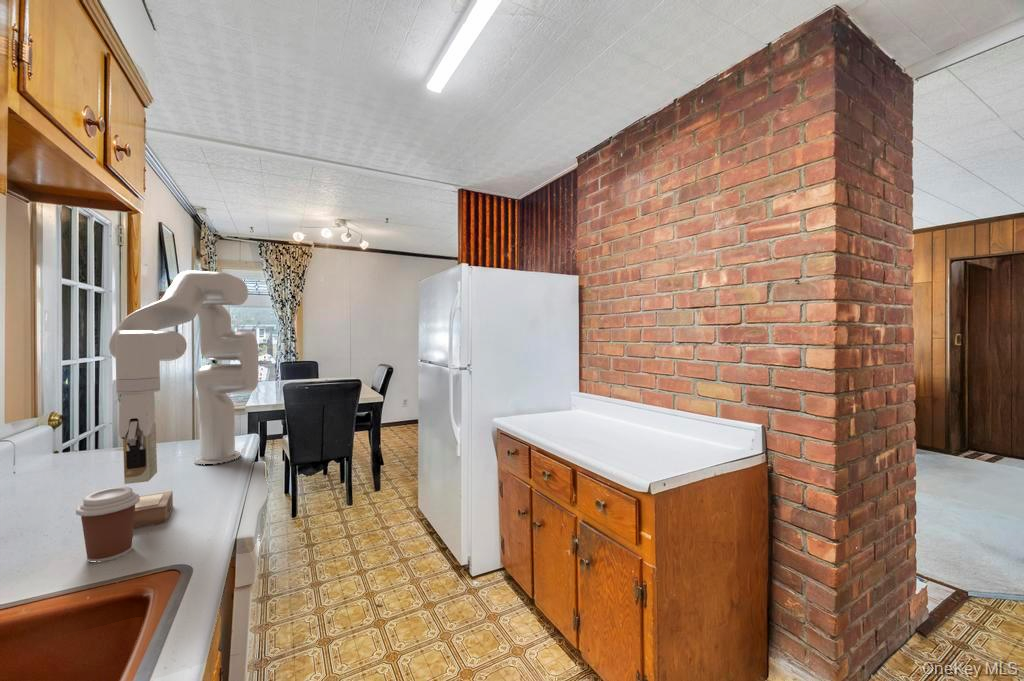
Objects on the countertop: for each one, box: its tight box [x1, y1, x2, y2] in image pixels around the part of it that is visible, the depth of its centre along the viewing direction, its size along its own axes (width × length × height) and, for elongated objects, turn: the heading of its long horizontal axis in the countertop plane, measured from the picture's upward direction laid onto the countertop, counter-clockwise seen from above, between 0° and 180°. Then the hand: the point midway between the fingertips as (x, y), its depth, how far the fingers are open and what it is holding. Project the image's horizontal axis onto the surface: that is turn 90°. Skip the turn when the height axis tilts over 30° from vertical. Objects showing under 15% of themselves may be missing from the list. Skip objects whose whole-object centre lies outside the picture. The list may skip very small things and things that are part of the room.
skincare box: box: [122, 422, 158, 485], centre depth 97 cm, size 6×4×12 cm
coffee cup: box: [75, 486, 140, 562], centre depth 83 cm, size 9×9×12 cm
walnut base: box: [133, 490, 174, 529], centre depth 98 cm, size 10×10×4 cm
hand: (140, 462), depth 97 cm, fingers closed on skincare box, 6 cm apart
